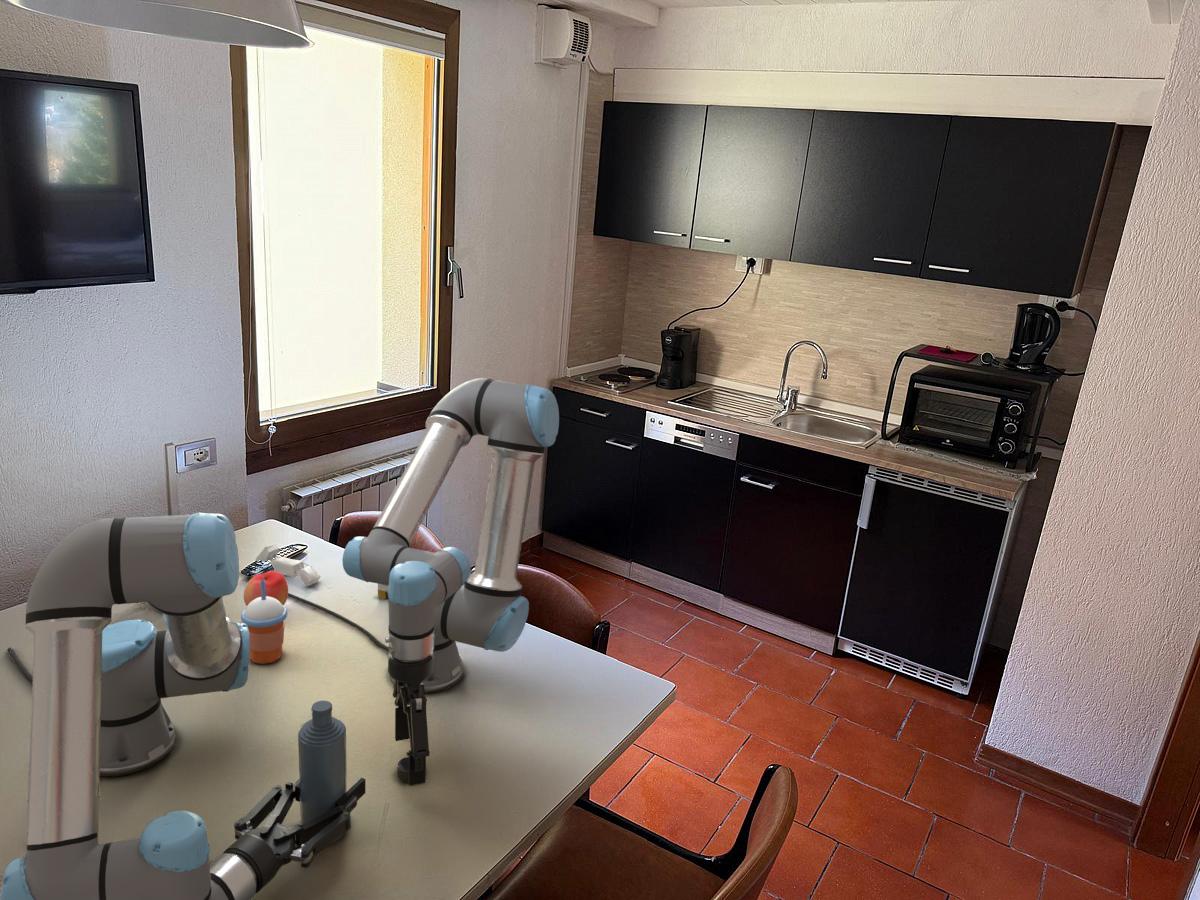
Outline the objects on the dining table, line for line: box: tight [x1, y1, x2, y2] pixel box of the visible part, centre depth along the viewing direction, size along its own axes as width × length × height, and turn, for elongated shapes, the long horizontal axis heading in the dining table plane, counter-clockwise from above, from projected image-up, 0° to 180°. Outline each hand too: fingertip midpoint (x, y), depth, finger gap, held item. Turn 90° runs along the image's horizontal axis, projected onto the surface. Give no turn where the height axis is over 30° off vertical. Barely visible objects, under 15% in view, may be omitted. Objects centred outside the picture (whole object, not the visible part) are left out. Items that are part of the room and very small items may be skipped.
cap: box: [396, 756, 409, 784], centre depth 151 cm, size 4×4×2 cm
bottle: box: [297, 699, 348, 843], centre depth 134 cm, size 7×7×23 cm
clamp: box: [254, 544, 322, 587], centre depth 219 cm, size 20×4×7 cm, turn 62°
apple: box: [243, 570, 289, 607], centre depth 199 cm, size 10×10×10 cm
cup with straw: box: [240, 580, 288, 665], centre depth 181 cm, size 9×9×18 cm
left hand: (343, 777), depth 140 cm, fingers closed on bottle, 7 cm apart
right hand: (409, 760), depth 151 cm, fingers open, 12 cm apart
